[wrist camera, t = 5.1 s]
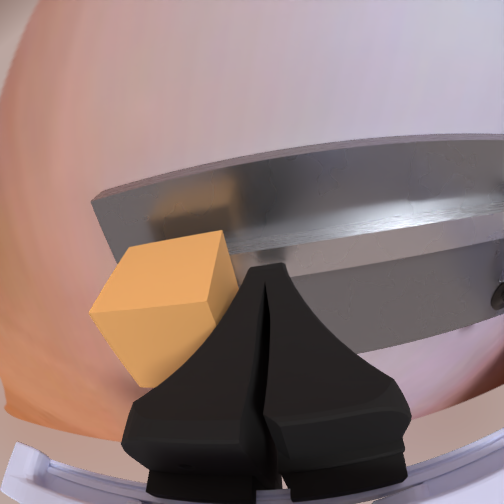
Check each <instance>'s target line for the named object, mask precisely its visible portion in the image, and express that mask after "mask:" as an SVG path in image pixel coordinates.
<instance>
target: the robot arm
mask: <svg viewBox="0 0 504 504" xmlns="http://www.w3.org/2000/svg"><path fill="white" fill-rule="evenodd" d="M411 417H412V415H411V412H410V408H409V406H408V403H407V401H406V399H405V397H404V395H403V393H402V391H401V390H400V388H399V386H398V385H397V383H396V382H395V380H394V379H393V378H391V377H389V376H388V375H386V374H384V373H383V372H381V371H380V370H378V369H377V368H375V367H374V366H372V365H370V364H369V363H368V362H366V361H365V360H364V359H362V358H361V357H359V356H358V355H357V354H356V353H354V352H353V351H352V350H351V349H350V348H348V347H347V346H346V345H345V344H344V343H342V342H341V341H340V340H339V339H338V338H337V337H336V336H335V335H334V334H333V333H332V332H331V331H330V330H329V329H328V328H327V327H326V326H325V325H324V324H323V323H322V322H321V321H320V320H319V319H318V317H317V316H316V315H315V314H314V313H313V311H312V310H311V309H310V307H309V306H308V305H307V303H306V302H305V301H304V299H303V298H302V296H301V295H300V293H299V292H298V290H297V289H296V287H295V285H294V284H293V282H292V280H291V278H290V276H289V274H288V271H287V268H286V264H284V263H283V262H280V263H273V264H267V265H260V266H254V267H250V268H249V269H248V271H247V273H246V275H245V278H244V280H243V282H242V284H241V286H240V288H239V290H238V292H237V294H236V295H235V297H234V299H233V301H232V303H231V304H230V306H229V308H228V309H227V311H226V312H225V314H224V315H223V317H222V319H221V320H220V322H219V323H218V325H217V326H216V327H215V329H214V330H213V331H212V333H211V334H210V335H209V337H208V338H207V339H206V340H205V341H204V343H203V344H202V345H201V346H200V347H199V348H198V349H197V351H196V352H195V353H194V354H193V355H192V356H191V357H190V358H189V359H188V360H187V361H186V362H185V363H184V364H183V365H182V366H181V367H180V368H179V369H177V370H176V371H175V372H174V373H173V374H172V375H170V376H169V377H168V378H167V379H166V380H164V381H163V382H162V383H161V384H159V385H158V386H157V387H155V388H154V389H152V390H151V391H149V392H148V393H147V394H145V395H144V396H142V397H141V398H139V399H138V400H136V401H135V402H133V405H132V407H131V410H130V413H129V415H128V419H127V423H126V426H125V430H124V434H123V438H122V442H121V445H122V447H123V449H124V451H125V452H126V453H127V454H128V455H129V456H131V457H132V458H134V459H135V460H136V461H138V462H139V463H140V464H142V465H143V466H145V467H146V468H148V469H149V470H150V471H149V477H148V481H147V483H142V482H136V481H131V480H125V479H121V478H116V477H111V476H107V475H103V474H99V473H95V472H91V471H87V470H84V469H80V468H77V467H74V466H70V465H67V464H64V463H61V462H58V461H55V460H52V459H50V458H49V457H48V456H47V455H45V454H44V453H42V452H41V451H39V450H37V449H35V448H33V447H31V446H28V445H26V444H24V443H21V442H16V444H15V447H14V450H13V452H12V455H11V458H10V460H9V463H8V466H7V469H6V472H5V475H4V478H3V481H2V485H1V488H0V490H1V491H2V492H3V493H4V494H6V495H8V496H9V497H11V498H12V499H14V500H16V501H17V502H19V503H21V504H356V503H361V502H366V501H370V500H374V499H379V498H382V497H385V498H382V499H379V500H376V501H374V502H373V503H372V504H504V428H502V429H500V430H498V431H496V432H494V433H492V434H490V435H488V436H486V437H484V438H482V439H480V440H477V441H475V442H473V443H470V444H468V445H466V446H464V447H461V448H459V449H456V450H454V451H451V452H449V453H446V454H443V455H441V456H438V457H435V458H432V459H430V460H426V461H424V462H420V463H417V464H414V465H411V466H407V467H406V464H405V459H404V455H403V452H404V451H405V446H404V442H403V438H402V437H403V435H404V433H405V431H406V429H407V427H408V425H409V424H410V421H411ZM281 475H282V477H283V479H284V481H285V483H286V485H287V487H288V489H282V477H281ZM387 496H388V497H387Z"/></svg>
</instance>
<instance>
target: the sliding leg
mask: <svg viewBox="0 0 504 504" xmlns="http://www.w3.org/2000/svg"><path fill="white" fill-rule="evenodd" d="M238 290H239V287H238V284H237V280H236V277H235V273H234V270H233V266H232V263H231V259H230V256H229V252H228V248H227V245H226V241H225V238H224V234H223V230H219V231H213V232H207V233H202V234H196V235H191V236H185V237H180V238H174V239H169V240H164V241H158V242H153V243H148V244H143V245H137V246H132V247H129V248H128V249H127V251H126V252H125V254H124V255H123V257H122V259H121V260H120V262H119V263H118V265H117V266H116V268H115V270H114V271H113V273H112V274H111V276H110V278H109V279H108V281H107V283H106V284H105V286H104V287H103V289H102V291H101V292H100V294H99V296H98V298H97V299H96V301H95V303H94V304H93V306H92V308H91V310H90V311H89V315H90V316H91V318H92V320H93V321H94V323H95V324H96V326H97V327H98V329H99V330H100V332H101V334H102V335H103V337H104V338H105V339H106V341H107V342H108V344H109V345H110V347H111V348H112V350H113V351H114V353H115V354H116V355H117V357H118V358H119V360H120V361H121V362H122V364H123V365H124V366H125V368H126V369H127V370H128V372H129V373H130V374H131V376H132V377H133V378H134V380H135V381H136V382H137V383H138V385H139V386H140V387H147V388H155V387H157V386H158V385H159V384H161V383H162V382H163V381H164V380H166V379H167V378H168V377H169V376H170V375H172V374H173V373H174V372H175V371H176V370H177V369H179V368H180V367H181V366H182V365H183V364H184V363H185V362H186V361H187V360H188V359H189V358H190V357H191V356H192V355H193V354H194V353H195V352H196V351H197V349H198V348H199V347H200V346H201V345H202V344H203V343H204V341H205V340H206V339H207V338H208V337H209V335H210V334H211V333H212V331H213V330H214V329H215V327H216V326H217V325H218V323H219V322H220V320H221V319H222V317H223V315H224V314H225V312H226V311H227V309H228V308H229V306H230V304H231V303H232V301H233V299H234V297H235V295H236V294H237V292H238Z"/></svg>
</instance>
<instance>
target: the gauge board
mask: <svg viewBox="0 0 504 504" xmlns="http://www.w3.org/2000/svg"><path fill="white" fill-rule="evenodd" d="M91 204H92V206H93V209H94V211H95V214H96V216H97V219H98V221H99V224H100V226H101V228H102V231H103V233H104V235H105V238H106V240H107V242H108V244H109V247H110V249H111V251H112V253H113V255H114V258H115V260H116V262H117V264H118V263H119V262H120V260H121V259H122V257H123V255H124V254H125V252H126V251H127V249H128V248H129V247H132V246H137V245H143V244H148V243H153V242H158V241H164V240H169V239H174V238H180V237H185V236H191V235H196V234H202V233H207V232H213V231H219V230H223V234H224V238H225V241H226V245H227V248H228V252H229V256H230V259H231V263H232V266H233V270H234V273H235V277H236V280H237V284H238V287H239V288H240V286H241V284H242V282H243V280H244V278H245V275H246V273H247V271H248V269H249V268H250V267H254V266H260V265H267V264H273V263H280V262H283V263H284V264H286V268H287V271H288V274H289V276H290V278H291V280H292V282H293V284H294V285H295V287H296V289H297V290H298V292H299V293H300V295H301V296H302V298H303V299H304V301H305V302H306V303H307V305H308V306H309V307H310V309H311V310H312V311H313V313H314V314H315V315H316V316H317V317H318V319H319V320H320V321H321V322H322V323H323V324H324V325H325V326H326V327H327V328H328V329H329V330H330V331H331V332H332V333H333V334H334V335H335V336H336V337H337V338H338V339H339V340H340V341H341V342H342V343H344V344H345V345H346V346H347V347H348V348H350V349H351V350H352V351H353V352H354V353H356V354H359V353H364V352H369V351H374V350H378V349H383V348H387V347H392V346H396V345H400V344H404V343H408V342H412V341H416V340H420V339H424V338H428V337H432V336H435V335H439V334H442V333H446V332H449V331H453V330H456V329H459V328H462V327H466V326H469V325H472V324H475V323H478V322H481V321H484V320H487V319H490V318H493V317H495V316H498V315H501V314H504V134H431V135H410V136H395V137H382V138H370V139H360V140H350V141H341V142H333V143H325V144H317V145H310V146H303V147H296V148H289V149H283V150H277V151H271V152H265V153H259V154H254V155H248V156H243V157H238V158H233V159H228V160H223V161H218V162H213V163H209V164H204V165H200V166H195V167H191V168H187V169H182V170H178V171H174V172H170V173H166V174H162V175H158V176H154V177H151V178H147V179H143V180H140V181H136V182H132V183H129V184H125V185H122V186H118V187H115V188H112V189H108V190H105V191H102V192H101V193H100V194H98V195H97V196H96V197H95V198H94V199H93V200H92V201H91Z"/></svg>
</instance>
